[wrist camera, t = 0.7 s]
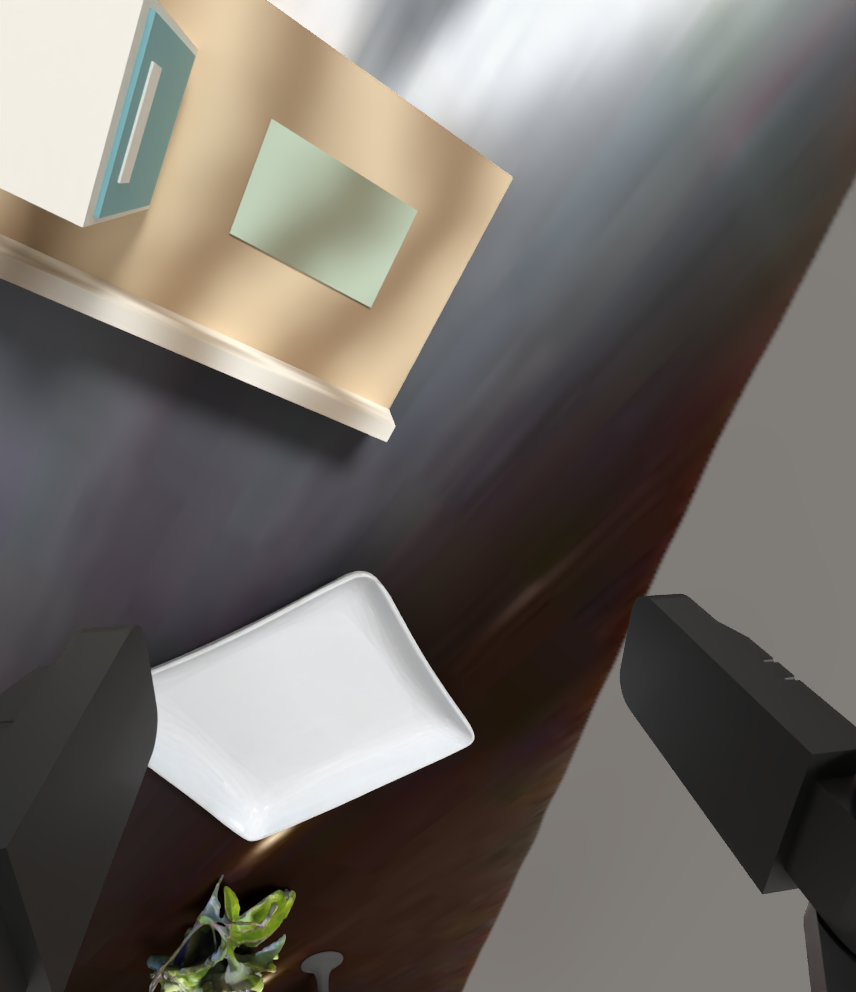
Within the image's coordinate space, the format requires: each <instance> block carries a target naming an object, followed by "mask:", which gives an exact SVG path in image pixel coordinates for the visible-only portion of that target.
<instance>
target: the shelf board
mask: <svg viewBox="0 0 856 992" xmlns="http://www.w3.org/2000/svg"><path fill="white" fill-rule="evenodd" d="M158 1H159V3H160V4H161V5H162V6H163V7H164V9H165V10H166V11H167V12H168V14H169V15H170V16H171V17H172V18H173V20H174V21H175V22H176V23H177V25H178V26H179V27H180V28H181V29H182V31H183V32H184V33H185V34H186V35H187V37H188V38H189V39H190V40H191V42H192V43H193V44H194V45H195V46H196V48H197V49H198V51H197V54H196V58H195V61H194V64H193V67H192V71H191V74H190V77H189V80H188V84H187V87H186V90H185V93H184V96H183V100H182V103H181V106H180V109H179V113H178V116H177V119H176V122H175V126H174V129H173V132H172V135H171V139H170V142H169V145H168V148H167V152H166V155H165V158H164V161H163V165H162V168H161V171H160V174H159V178H158V181H157V184H156V187H155V191H154V194H153V197H152V200H151V204H150V207H149V209H146V210H143V211H139V212H136V213H132V214H129V215H125V216H122V217H118V218H115V219H111V220H108V221H104V222H101V223H97V224H94V225H90V226H87V227H83V228H82V227H80V226H78V225H76V224H74V223H72V222H70V221H68V220H66V219H64V218H62V217H59V216H57V215H55V214H53V213H51V212H49V211H47V210H45V209H43V208H41V207H39V206H37V205H35V204H32V203H30V202H28V201H26V200H24V199H22V198H20V197H18V196H16V195H14V194H12V193H10V192H7V191H5V190H3V189H1V188H0V278H1V279H3V280H6V281H8V282H10V283H13V284H15V285H17V286H20V287H22V288H25V289H27V290H29V291H32V292H34V293H36V294H39V295H41V296H43V297H46V298H48V299H50V300H53V301H55V302H58V303H60V304H62V305H65V306H67V307H69V308H72V309H74V310H76V311H79V312H81V313H83V314H86V315H88V316H91V317H93V318H95V319H98V320H100V321H102V322H105V323H107V324H109V325H112V326H114V327H117V328H119V329H121V330H124V331H126V332H128V333H131V334H133V335H135V336H138V337H140V338H142V339H145V340H147V341H150V342H152V343H154V344H157V345H159V346H161V347H164V348H166V349H168V350H171V351H173V352H175V353H178V354H180V355H183V356H185V357H187V358H190V359H192V360H194V361H197V362H199V363H201V364H204V365H206V366H208V367H211V368H213V369H216V370H218V371H220V372H223V373H225V374H227V375H230V376H232V377H234V378H237V379H239V380H242V381H244V382H246V383H249V384H251V385H253V386H256V387H258V388H260V389H263V390H265V391H267V392H270V393H272V394H275V395H277V396H279V397H282V398H284V399H286V400H289V401H291V402H293V403H296V404H298V405H300V406H303V407H305V408H308V409H310V410H312V411H315V412H317V413H319V414H322V415H324V416H326V417H329V418H331V419H333V420H336V421H338V422H341V423H343V424H345V425H348V426H350V427H352V428H355V429H357V430H359V431H362V432H364V433H367V434H369V435H371V436H374V437H376V438H378V439H381V440H383V441H385V442H387V441H388V439H389V437H390V435H391V434H392V432H393V430H394V428H395V424H394V421H393V419H392V416H391V413H390V411H389V408H390V407H391V405H392V403H393V401H394V399H395V397H396V395H397V394H398V392H399V390H400V388H401V386H402V384H403V382H404V380H405V379H406V377H407V375H408V373H409V371H410V369H411V367H412V366H413V364H414V362H415V360H416V358H417V356H418V354H419V352H420V351H421V349H422V347H423V345H424V343H425V341H426V339H427V338H428V336H429V334H430V332H431V330H432V328H433V326H434V325H435V323H436V321H437V319H438V317H439V315H440V313H441V311H442V310H443V308H444V306H445V304H446V302H447V300H448V298H449V297H450V295H451V293H452V291H453V289H454V287H455V285H456V283H457V282H458V280H459V278H460V276H461V274H462V272H463V270H464V269H465V267H466V265H467V263H468V261H469V259H470V257H471V255H472V254H473V252H474V250H475V248H476V246H477V244H478V242H479V241H480V239H481V237H482V235H483V233H484V231H485V229H486V228H487V226H488V224H489V222H490V220H491V218H492V216H493V214H494V213H495V211H496V209H497V207H498V205H499V203H500V201H501V200H502V198H503V196H504V194H505V192H506V190H507V188H508V186H509V185H510V183H511V181H512V179H513V177H512V176H511V175H509V174H508V173H506V172H505V171H504V170H502V169H501V168H499V167H498V166H497V165H495V164H494V163H492V162H491V161H490V160H488V159H487V158H485V157H484V156H483V155H481V154H480V153H479V152H477V151H476V150H474V149H473V148H472V147H470V146H469V145H467V144H466V143H465V142H463V141H462V140H460V139H459V138H458V137H456V136H455V135H453V134H452V133H451V132H449V131H448V130H446V129H445V128H444V127H442V126H441V125H440V124H438V123H437V122H435V121H434V120H433V119H431V118H430V117H428V116H427V115H426V114H424V113H423V112H421V111H420V110H419V109H417V108H416V107H414V106H413V105H412V104H410V103H409V102H407V101H406V100H405V99H403V98H402V97H401V96H399V95H398V94H396V93H395V92H394V91H392V90H391V89H389V88H388V87H387V86H385V85H384V84H382V83H381V82H380V81H378V80H377V79H375V78H374V77H373V76H371V75H370V74H368V73H367V72H366V71H364V70H363V69H362V68H360V67H359V66H357V65H356V64H355V63H353V62H352V61H350V60H349V59H348V58H346V57H345V56H343V55H342V54H341V53H339V52H338V51H336V50H335V49H334V48H332V47H331V46H330V45H328V44H327V43H325V42H324V41H323V40H321V39H320V38H318V37H317V36H316V35H314V34H313V33H311V32H310V31H309V30H307V29H306V28H304V27H303V26H302V25H300V24H299V23H297V22H296V21H295V20H293V19H292V18H291V17H289V16H288V15H286V14H285V13H284V12H282V11H281V10H279V9H278V8H277V7H275V6H274V5H272V4H271V3H270V2H268V1H267V0H158Z"/></svg>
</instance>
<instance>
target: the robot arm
mask: <svg viewBox="0 0 856 992" xmlns="http://www.w3.org/2000/svg"><path fill="white" fill-rule="evenodd" d="M620 684H621V689H622V693H623V697H624V699H625V702H626V704H627V706H628V707H629V709H630V710H631V712H632V713H633V715H634V716H635V717H636V719H637V720H638V722H639V723H640V724H641V726H642V727H643V729H644V730H645V731H646V733H647V734H648V735H649V737H650V738H651V740H652V741H653V742H654V744H655V745H656V747H657V748H658V749H659V751H660V752H661V753H662V755H663V756H664V758H665V759H666V760H667V762H668V763H669V765H670V766H671V768H672V769H673V770H674V772H675V773H676V774H677V776H678V777H679V779H680V780H681V782H682V783H683V784H684V786H685V787H686V788H687V790H688V791H689V793H690V794H691V795H692V797H693V798H694V800H695V801H696V802H697V804H698V805H699V806H700V808H701V809H702V811H703V812H704V814H705V815H706V816H707V818H708V819H709V820H710V822H711V823H712V825H713V826H714V827H715V829H716V830H717V832H718V833H719V834H720V836H721V837H722V839H723V840H724V841H725V843H726V844H727V846H728V847H729V848H730V850H731V851H732V852H733V854H734V855H735V857H736V858H737V859H738V861H739V862H740V864H741V865H742V866H743V867H744V869H745V871H746V872H747V873H748V875H749V876H750V878H751V879H752V880H753V882H754V883H755V884H756V886H757V887H758V889H759V890H760V891H761V893H762V894H767V893H773V892H779V891H785V890H791V889H797V888H799V889H800V890H801V891H802V893H803V894H804V895H805V897H806V898H807V899H808V900H809V903H808V906H807V908H806V911H805V914H804V932H805V940H806V949H807V958H808V966H809V975H810V985H811V992H856V727H855V726H854V725H853V724H852V723H851V722H849V721H848V720H847V719H846V718H845V717H843V716H842V715H841V714H840V713H839V712H837V711H836V710H835V709H834V708H833V707H831V706H830V705H829V704H828V703H827V702H825V701H824V700H823V699H822V698H821V697H819V696H818V695H817V694H816V693H815V692H813V691H812V690H811V689H810V688H809V687H807V686H806V685H805V684H804V683H803V682H801V681H800V680H797V681H796V680H795V679H794V675H793V674H792V673H790V672H789V671H788V670H787V669H786V668H784V667H783V666H782V665H781V664H780V663H778V662H775V663H774V661H773V658H772V657H771V656H770V655H769V654H768V653H766V652H765V651H764V650H763V649H761V648H760V647H759V646H758V645H757V644H756V643H754V642H753V641H752V640H751V639H749V638H748V637H746V636H744V635H742V634H741V633H739V632H737V631H735V630H733V629H731V628H729V627H727V626H725V625H724V624H722V623H720V622H718V621H716V620H715V619H714V618H713V617H712V616H711V615H709V614H708V613H707V612H706V611H705V610H703V609H702V608H701V607H700V606H699V605H698V604H697V603H695V602H694V601H693V600H692V599H691V598H689V597H688V596H686V595H684V594H672V595H655V596H641V597H639V598H637V599H636V601H635V602H634V604H633V606H632V610H631V616H630V621H629V626H628V631H627V637H626V642H625V647H624V653H623V658H622V663H621V669H620ZM157 724H158V713H157V704H156V698H155V692H154V686H153V680H152V674H151V668H150V662H149V656H148V650H147V644H146V638H145V634H144V632H143V630H142V628H141V627H140V626H120V627H104V628H87V629H82V630H81V631H79V632H78V633H77V635H76V636H75V637H74V639H73V640H72V641H71V643H70V644H69V646H68V647H67V648H66V650H65V651H64V653H63V654H62V655H61V657H60V658H59V659H58V661H57V662H56V664H55V665H54V666H43V667H37V668H36V669H34V670H33V671H32V672H30V673H29V674H27V675H26V676H25V677H23V678H22V679H20V680H19V681H18V682H16V683H15V684H14V685H12V686H11V687H9V688H8V689H7V690H5V691H4V692H2V693H1V694H0V992H63V991H64V988H65V986H66V983H67V980H68V978H69V975H70V972H71V970H72V967H73V964H74V962H75V959H76V956H77V954H78V951H79V948H80V946H81V943H82V940H83V938H84V935H85V932H86V930H87V927H88V924H89V922H90V919H91V916H92V914H93V911H94V908H95V906H96V903H97V900H98V898H99V895H100V892H101V890H102V887H103V884H104V882H105V879H106V876H107V874H108V871H109V868H110V866H111V863H112V860H113V857H114V855H115V852H116V849H117V847H118V844H119V841H120V839H121V836H122V833H123V831H124V828H125V825H126V823H127V820H128V817H129V815H130V812H131V809H132V807H133V804H134V801H135V799H136V796H137V793H138V791H139V788H140V785H141V783H142V780H143V777H144V775H145V772H146V769H147V767H148V764H149V761H150V759H151V756H152V753H153V750H154V746H155V741H156V735H157Z"/></svg>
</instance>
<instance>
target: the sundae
mask: <svg viewBox="0 0 856 992" xmlns="http://www.w3.org/2000/svg"><path fill="white" fill-rule="evenodd" d="M342 961H343V955H342V954H341V953H339V952H336V951H324V952H320V953H316V954H314V955H311V956H309V957H308V958H306V959H305V960H304V961H303V962H302V964H301V969H302V971H304V972H306V973H313V974H314V975H315V976H316V979H317V985H318V992H329V990H328V979H329V974H330V971H331V969H334V968H335V967H337V966H338V965H339V964H341V962H342Z"/></svg>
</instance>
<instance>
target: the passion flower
mask: <svg viewBox="0 0 856 992" xmlns="http://www.w3.org/2000/svg"><path fill="white" fill-rule="evenodd" d="M223 877H224V875H221V877H220V879H219V881H218V883H217V885H216V887H215V889H214V892H213V894H212V896H211V898H210V900H209V902H208V904H207V906H206V908H205V909H204V910H203V911H202V912H201V913H200V914H199V915H198V917H197V920H196V923H195V925H194V927H193V928H192V927H189V928H188V929H187V931H186V933H185V938H184V940H183V941H182V943H181V944H180V945H179V947H178V948H177V949H176V950H175V952H174V953H173V954H172V955H171V957H167V956H163V955H152V956H150V957H149V959H148V960H147V965H148V967H149V968H152V969H154V970H155V971H153V972H152V973H151V974H150V977H151V979H153V980H152V982H151V984H150V991H149V992H153V990H154V989H155V987H156V985H157V984H158V982H160V983H161V986H162V988H161V991H160V992H249V989H250V990H255V991H257V992H261V991H262V989H263V987H264V984H263V979H262V978H261V976H262V974H260V972H263V971H268V972H276V966H275V965H274V964H273V962H272V960H273V959H278V953H279V952H280V950H281V949H282V946H283V945H284V943H285V938H286V935H285V934H284V935H283V936H282V937H281V938H279V939H278V941H277V942H273V943H272V944H271V945H269V946H268V947H264V948H263V950H262V951H259V952H256V953H254V951H253V949H252V947H258V944H260V943H261V942H263V941H264V940H265V939H267V938H268V937H269V936H270V935H272V933H274V931H275V930H276V929H277V928H278V927H279V926H280V924H281V923H282V921H283V919H284V918H286V917H287V915H288V913H289V911H290V909H291V907H292V905H293V902H294V900H295V896H296V894H295V892H294V891H293V890H291V891H290V892H289V891H288V889H285V890H284V892H283V891H282V890H277V891H275V892H273V893H272V894H270V895H268V896H266V897H265V898H264V899H263V900H262V901H260V902H259V903H258V904H256V905H255V906H253V907H252V908H250V909H249V910H248V911H246V912H244V913H243V914H242V915H240V916H239V910H240V906H239V901H238V898H237V897H236V895H235V893H234V892H233V891H232V890H231V889H230V888H229V887H228V886H225V887H224V890H223V891H224V901H225V914H224V917H223V918H220V917H219V912H220V907H221V905H220V902H219V901H218V898H217V894H218V890H219V886H220V883H221V881H222V879H223ZM205 924H206V925H205ZM224 924H225V925H226V926H224ZM202 925H204V926H202Z"/></svg>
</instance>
